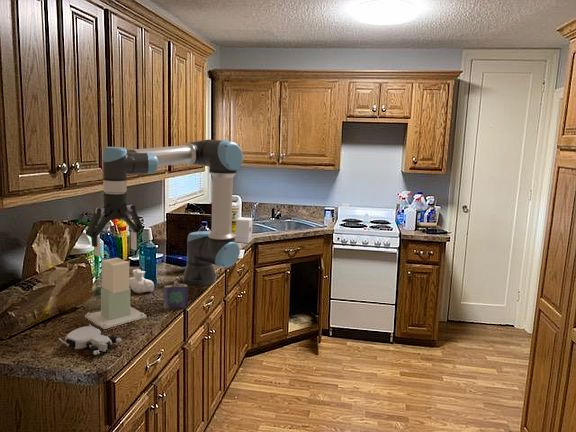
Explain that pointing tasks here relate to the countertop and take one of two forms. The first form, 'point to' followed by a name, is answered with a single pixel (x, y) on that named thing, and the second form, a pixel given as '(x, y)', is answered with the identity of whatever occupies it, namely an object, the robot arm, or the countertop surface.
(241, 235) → the supplement box
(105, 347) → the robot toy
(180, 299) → the flask
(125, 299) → the sage brick
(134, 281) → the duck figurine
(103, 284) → the cream brick
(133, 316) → the baseplate
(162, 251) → the countertop surface
